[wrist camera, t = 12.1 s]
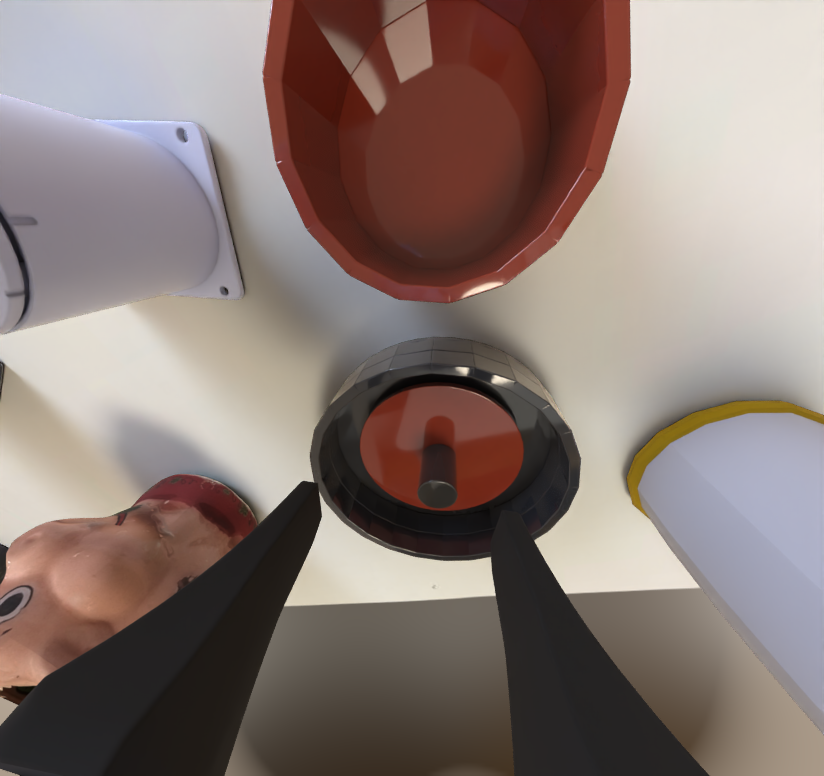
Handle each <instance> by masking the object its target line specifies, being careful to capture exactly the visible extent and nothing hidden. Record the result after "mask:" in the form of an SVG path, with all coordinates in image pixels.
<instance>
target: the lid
mask: <svg viewBox="0 0 824 776" xmlns="http://www.w3.org/2000/svg"><path fill="white" fill-rule="evenodd" d="M360 454H361V457H362V461H363V463H364V466H365V468H366V470H367V472H368V473H369V475H370V476H371V477H372V479H373V480H374V481H375V482H376V483H377V484H378V485H379V486H380V487H381V488H382V489H383V490H384V491H386V492H387V493H388V494H390V495H392V496H393V497H395V498H397V499H399V500H401V501H403V502H405V503H408V504H410V505H413V506H416V507H420V508H425V509H430V510H439V511H452V510H462V509H468V508H471V507H475V506H478V505H481V504H484V503H486V502H488V501H490V500H492V499H494V498H495V497H497V496H498V495H500V494H501V493H502V492H504V491H505V490H506V489H507V488H508V487H509V486H510V485H511V484H512V483H513V481H514V480H515V478H516V477H517V475H518V473H519V471H520V469H521V466H522V462H523V455H524V447H523V440H522V437H521V433H520V430H519V428H518V426H517V424H516V422H515V420H514V419H513V417H512V416H511V414H510V413H509V412H508V411H507V410H506V409H505V408H504V407H503V406H502V405H501V404H500V403H499V402H497V401H496V400H495V399H493V398H492V397H490V396H488V395H487V394H485V393H483V392H481V391H478V390H476V389H474V388H471V387H467V386H464V385H460V384H454V383H445V382H431V383H422V384H416V385H412V386H409V387H406V388H403V389H401V390H398V391H396V392H394V393H392V394H391V395H389V396H387V397H386V398H384V399H383V400H382V401H381V402H380V403H378V404H377V405H376V407H375V408H374V409H373V410H372V411H371V413H370V414H369V416H368V417H367V419H366V422H365V424H364V426H363V429H362V432H361V436H360Z"/></svg>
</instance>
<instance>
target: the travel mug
mask: <svg viewBox="0 0 824 776" xmlns="http://www.w3.org/2000/svg"><path fill="white" fill-rule="evenodd" d="M7 551H8V548H6V547H4V546H2V545H0V584H1V583H2V581H3V579H4V577H5V575H6V568H7V567H6V553H7Z"/></svg>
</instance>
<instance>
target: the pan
mask: <svg viewBox="0 0 824 776" xmlns="http://www.w3.org/2000/svg"><path fill="white" fill-rule="evenodd" d="M431 382H445V383H454V384H460V385H464V386H467V387H471V388H474V389H476V390H478V391H481V392H483V393H485V394H487V395H488V396H490V397H492V398H493V399H495V400H496V401H497V402H499V403H500V404H501V405H502V406H503V407H504V408H505V409H506V410H507V411H508V412H509V413H510V414H511V416H512V417H513V419H514V420H515V422H516V424H517V426H518V428H519V430H520V433H521V437H522V440H523V447H524V455H523V462H522V466H521V469H520V471H519V473H518V475H517V477H516V478H515V480H514V481H513V483H512V484H511V485H510V486H509V487H508V488H507V489H506V490H505V491H504V492H502V493H501V494H500V495H498V496H497V497H495V498H494V499H492V500H490V501H488V502H486V503H484V504H481V505H478V506H475V507H471V508H468V509H462V510H452V511H439V510H430V509H425V508H420V507H416V506H413V505H410V504H408V503H405V502H403V501H401V500H399V499H397V498H395V497H393V496H392V495H390V494H388V493H387V492H386V491H384V490H383V489H382V488H381V487H380V486H379V485H378V484H377V483H376V482H375V481H374V480H373V479H372V477H371V476H370V475H369V473H368V472H367V470H366V468H365V466H364V463H363V461H362V457H361V454H360V436H361V432H362V429H363V426H364V424H365V422H366V419H367V417H368V416H369V414H370V413H371V411H372V410H373V409H374V408H375V407H376V405H377V404H378V403H380V402H381V401H382V400H383V399H384V398H386V397H387V396H389V395H391V394H392V393H394V392H396V391H398V390H401V389H403V388H406V387H409V386H412V385H416V384H422V383H431ZM310 461H311V467H312V473H313V478H314V482H315V483H318V487H319V492H320V493H321V495H322V497H323V499H324V501H325V502H326V504H327V505H328V506H329V507H330V508H331V509H332V511H333V512H334V513H335V514H336V515H337V516H338V517H339V518H340V520H341V521H343V522H344V523H345V524H346V525H348V526H349V527H350V528H352V529H353V530H354V531H356V532H357V533H359V534H360V535H361V536H363V537H365V538H367V539H369V540H371V541H373V542H375V543H377V544H379V545H381V546H383V547H385V548H387V549H390V550H393V551H397V552H400V553H404V554H407V555H410V556H415V557H420V558H427V559H434V560H441V561H442V560H443V561H462V560H476V559H481V558H487V557H491V545H490V542H491V539H492V536H493V533H494V531H495V528H496V525H497V522H498V520H499V517H500V514H501V511H502V510H506V511H513V512H518V513H519V514H520V515H521V517H522V519H523V521H524V523H525V525H526V527H527V529H528V531H529V533H530V534H531V536H532V538H533V540H535V539H537V538H539V537H540V536H542V535H543V534H545V533H547V532H548V531H549V530H550V529H551V528H552V527H553V526H554V525H555V524H556V523H557V522H558V521H559V520H560V519H561V518H562V517H563V516H564V514H565V513H566V512H567V511H568V510H569V507H570V505H571V503H572V501H573V499H574V497H575V495H576V493H577V490H578V488H579V479H580V465H581V457H580V454H579V451H578V448H577V445H576V442H575V439H574V436H573V433H572V430H571V429H570V427H569V425H568V424H567V422H566V420H565V419H564V417H563V415H562V414H561V412H560V410H559V409H558V407H557V405H556V403H555V402H554V400H553V398H552V397H551V395H550V394H549V393H548V391H547V390H546V389H545V388H544V386H543V385H542V383H541V382H540V380H539V379H538V378H537V377H536V376H535V375H534V374H533V373H532V372H531V371H530V370H529V369H528V368H527V367H526V366H524V365H523V364H522V363H521V362H519V361H518V360H517V359H515V358H513V357H512V356H510V355H508V354H507V353H505V352H503V351H501V350H499V349H496V348H494V347H492V346H489V345H487V344H483V343H479V342H476V341H472V340H467V339H460V338H453V337H430V338H421V339H415V340H410V341H406V342H402V343H399V344H396V345H394V346H391V347H389V348H386V349H384V350H382V351H380V352H378V353H377V354H375V355H373V356H371V357H370V358H369V359H367V360H366V361H365V362H363V363H362V364H361V365H360V366H359V367H358V368H357V369H356V370H355V371H354V372H353V373H352V374H351V375H350V376H349V377H348V378H347V379H346V380H345V382H344V383H343V385H342V386H341V388H340V389H339V391H338V392H337V394H336V395H335V397H334V398H333V400H332V401H331V403H330V404H329V406H328V408H327V409H326V411H325V413H324V414H323V416H322V418H321V419H320V421H319V423H318V425H317V426H316V428H315V430H314V434H313V440H312V445H311V451H310Z"/></svg>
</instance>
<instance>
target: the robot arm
mask: <svg viewBox="0 0 824 776" xmlns="http://www.w3.org/2000/svg"><path fill="white" fill-rule="evenodd" d="M184 131H186V133H187V135H188V140H187V142H186V141H185V139H184V135H183V134H184ZM224 287H226V288H227V289H228V294H227V293H226V292H225V290H224ZM161 295H172V296H185V297H199V298H212V299H226V300H239V299H241V298H242V297H243V296H244V289H243V285H242V280H241V276H240V272H239V268H238V263H237V259H236V255H235V251H234V247H233V242H232V238H231V234H230V230H229V225H228V221H227V217H226V213H225V208H224V204H223V200H222V196H221V191H220V187H219V183H218V179H217V174H216V170H215V166H214V162H213V157H212V153H211V149H210V145H209V141H208V137H207V134H206V132H205V131H204V129H203V128H202V127H201V126H199V125H198V124H195V123H192V122H180V121H139V120H99V119H86V118H82V117H79V116H76V115H72V114H69V113H65V112H62V111H58V110H55V109H52V108H48V107H45V106H41V105H38V104H34V103H31V102H28V101H24V100H21V99H17V98H14V97H10V96H7V95H4V94H0V335H1V334H7V333H11V332H15V331H19V330H23V329H27V328H31V327H35V326H39V325H44V324H48V323H52V322H56V321H60V320H64V319H68V318H72V317H76V316H80V315H84V314H88V313H92V312H96V311H100V310H104V309H109V308H113V307H117V306H121V305H125V304H129V303H133V302H137V301H141V300H145V299H149V298H153V297H157V296H161ZM321 518H322V513H321V505H320V496H319V487H318V483H314V482H307V481H302V482H301V483H300V484H299V485H298V486H297V487H296V488H295V489H294V490H293V491H292V492H291V493H290V494H289V495H288V496H287V497H286V498H285V499H284V500H283V501H282V502H281V503H280V504H279V505H278V506H277V507H276V508H275V509H274V510H273V511H272V512H271V513H270V514H269V515H268V516H267V517H266V518H265V519H264V520H263V521H262V522H261V523H260V524H259V525H258V526H257V527H256V528H255V529H254V530H253V531H251V532H250V533H249V534H248V535H247V536H246V537H245V538H244V539H242V540H241V541H240V542H239V543H238V544H237V545H236V546H235V547H233V548H232V549H231V550H230V551H229V552H228V553H227V554H225V555H224V556H223V557H222V558H221V559H219V560H218V561H217V562H216V563H214V564H213V565H212V566H211V567H209V568H208V569H207V570H206V571H204V572H203V573H202V574H201V575H199V576H198V577H197V578H195V579H194V580H193V581H191V582H190V583H189V584H187V585H186V586H185V587H183V588H182V589H181V590H179V591H178V592H177V593H175V594H174V595H172V596H171V597H170V598H168V599H167V600H165V601H164V602H163V603H161V604H160V605H158V606H157V607H155V608H154V609H152V610H151V611H149V612H148V613H146V614H145V615H143V616H142V617H140V618H139V619H137V620H136V621H134V622H133V623H131V624H130V625H128V626H127V627H125V628H124V629H122V630H121V631H119V632H118V633H116V634H115V635H113V636H112V637H110V638H108V639H107V640H105V641H104V642H102V643H100V644H99V645H97V646H95V647H94V648H92V649H90V650H89V651H87V652H85V653H84V654H82V655H80V656H79V657H77V658H76V659H74V660H72V661H71V662H69V663H67V664H66V665H64V666H62V667H61V668H59V669H57V670H56V671H54V672H52V673H50V674H49V675H47V676H46V677H44V678H43V679H42V680H41V681H40V682H39V683H38V685H37V686H36V687H35V688H34V689H33V690H32V691H31V692H30V693H29V694H28V695H27V696H26V697H25V698H24V700H23V701H22V702H21V703H20V704H19V705H18V706H17V707H16V709H15V710H14V711H13V712H12V713H11V714H10V715H9V717H8V718H7V719H6V720H5V721H4V722H3V723H2V724H1V726H0V769H3V770H6V771H9V772H12V773H15V774H18V775H20V776H224V775H225V772H226V769H227V766H228V763H229V759H230V756H231V753H232V750H233V747H234V744H235V741H236V738H237V734H238V731H239V728H240V725H241V722H242V719H243V716H244V713H245V710H246V707H247V704H248V702H249V698H250V695H251V693H252V689H253V687H254V684H255V681H256V678H257V676H258V672H259V670H260V667H261V664H262V661H263V658H264V656H265V653H266V650H267V648H268V645H269V642H270V640H271V637H272V634H273V631H274V629H275V626H276V623H277V621H278V618H279V616H280V613H281V611H282V609H283V607H284V604H285V602H286V600H287V598H288V596H289V594H290V591H291V589H292V587H293V585H294V583H295V581H296V579H297V576H298V574H299V572H300V570H301V568H302V566H303V564H304V561H305V559H306V557H307V555H308V553H309V550H310V548H311V546H312V544H313V541H314V538H315V535H316V533H317V530H318V527H319V524H320V521H321ZM490 545H491V562H492V574H493V580H494V586H495V593H496V599H497V604H498V610H499V617H500V623H501V628H502V634H503V641H504V647H505V654H506V664H507V675H508V687H509V699H510V713H511V725H512V741H513V758H514V774H515V776H709V775H708V774H707V772H706V771H705V770H704V769H703V768H702V767H701V766H700V765H699V764H698V763H697V761H696V760H695V759H694V758H693V757H692V756H691V755H690V754H689V752H688V751H687V750H686V749H685V748H684V747H683V746H682V745H681V743H680V742H679V741H678V740H677V739H676V738H675V736H674V735H673V734H672V733H671V732H670V731H669V729H668V728H667V727H666V726H665V725H664V724H663V723H662V721H661V720H660V719H659V718H658V717H657V716H656V714H655V713H654V712H653V711H652V709H651V708H650V707H649V706H648V705H647V703H646V702H645V701H644V700H643V699H642V697H641V696H640V695H639V694H638V692H637V691H636V690H635V689H634V687H633V686H632V685H631V684H630V682H629V681H628V680H627V679H626V678H625V676H624V675H623V674H622V673H621V671H620V670H619V669H618V668H617V666H616V665H615V664H614V662H613V661H612V660H611V659H610V657H609V656H608V654H607V653H606V652H605V650H604V649H603V648H602V646H601V645H600V644H599V642H598V641H597V639H596V638H595V637H594V635H593V634H592V633H591V631H590V630H589V629H588V627H587V626H586V624H585V623H584V621H583V620H582V618H581V617H580V615H579V614H578V613H577V611H576V609H575V608H574V607H573V605H572V604H571V602H570V600H569V599H568V597H567V596H566V594H565V593H564V591H563V589H562V588H561V586H560V585H559V583H558V581H557V580H556V578H555V576H554V575H553V573H552V571H551V570H550V568H549V566H548V565H547V563H546V561H545V560H544V558H543V556H542V554H541V553H540V551H539V549H538V547H537V545H536V544H535V542H534V540H533V538H532V536H531V534H530V533H529V531H528V529H527V527H526V525H525V523H524V521H523V519H522V517H521V515H520V514H519V513H518V512H513V511H506V510H502V511H501V514H500V517H499V520H498V522H497V525H496V528H495V531H494V533H493V536H492V539H491V542H490Z"/></svg>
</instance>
